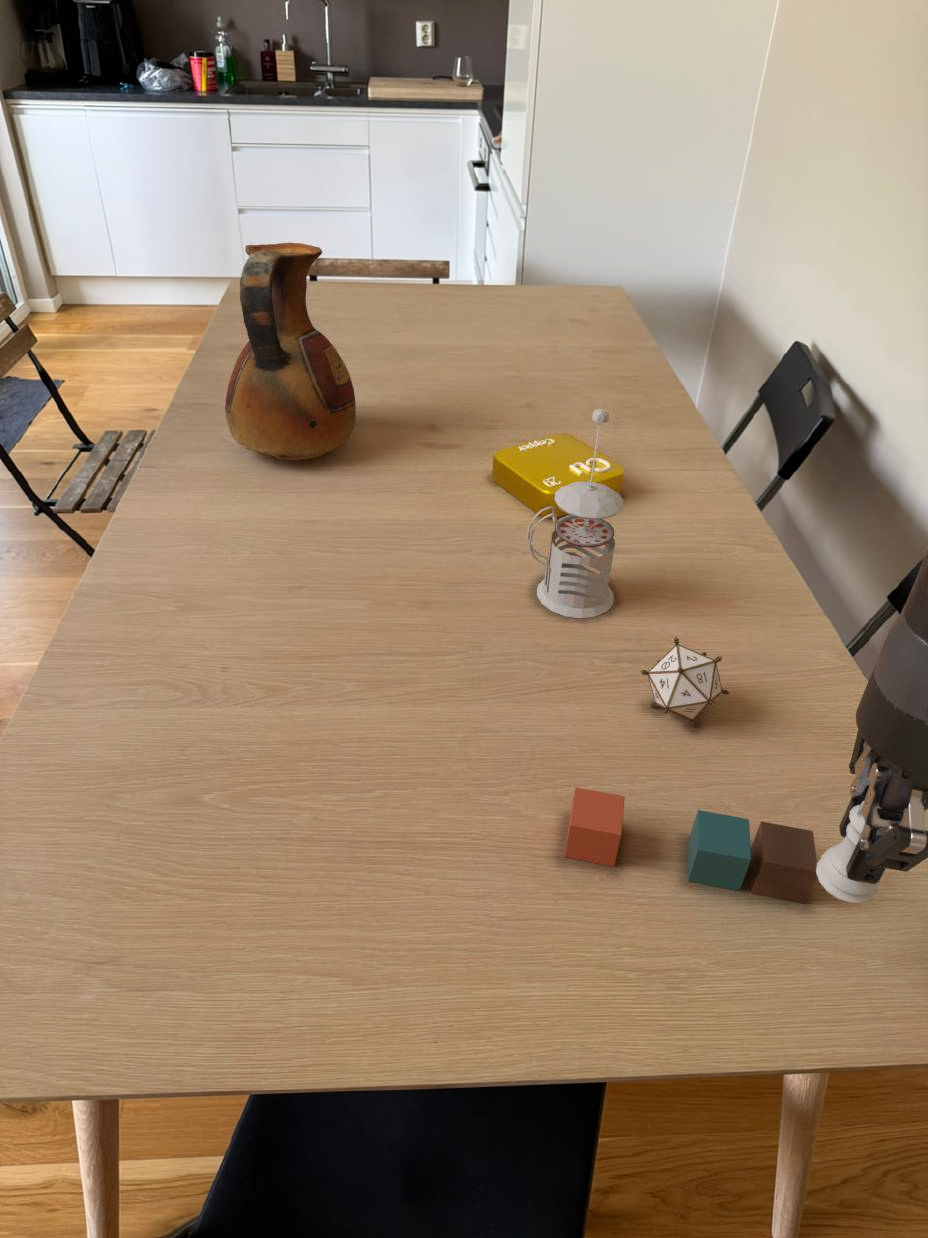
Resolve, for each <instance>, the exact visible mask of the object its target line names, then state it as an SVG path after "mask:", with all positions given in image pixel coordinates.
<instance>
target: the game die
mask: <svg viewBox="0 0 928 1238" xmlns="http://www.w3.org/2000/svg"><path fill="white" fill-rule="evenodd" d="M679 640H680V639H679V638H678V637H677V636H676V635H675V636H674V638H673V643H674V646H672V648H670V650H668V652H667V653H665V654H664V655H663V656H662V657H661V658H660V659H659V660H656V663H655V664H654V665H653V666H652V667H651V668H650V669H649V670H648V671H647V670H645V669H641V670H639V672H640V673H641V674H642V676H643V675H644V676H647V678H648V681H649V686H650V689H651V692H652V697H653V699H654V701H651V702H650V705H649V708H654V707H656V706H657V705H658V706H660V707H662V708H663V709H662V711H661V712H662V715H665V714H668V713H669V712H672V713H674V714H677V715H678V716H681V717H683V718H686V720H687V719H688V720H690V726H692V728H693V729H696V726H697V721H695V720H696V719H697V718H698V717H699V716H700V715H701V714H702V713H703V712H704V711H705V710H706V709H707V708H708V707H709V706H710V707H716V702H715V700H716V699H717V698H718V697H719V696H720V695H721V694H723V695H726V696H727V695H731V693H730V691H728V689H723V687H722V683H721V678H720V673H719V669H718V664H717V663H720V662H721V661H722V659H723V656H719V655H718V656H717V657H715V658H714V659H713V658H711V657H709V656H707V655H708V654H707V652H706V651H704V652H701V653H700V652H697V651H695V650H693V649H691V648H688V647H686V646H684V645H682V644H680V641H679Z"/></svg>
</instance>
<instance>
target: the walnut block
mask: <svg viewBox="0 0 928 1238" xmlns="http://www.w3.org/2000/svg"><path fill="white" fill-rule="evenodd" d="M750 846H751V862H750V864H749V876H750V877H749V879H750V893H751V894H752V895H756V896H763V897H768V898H772V899H776V900H777V899H778V900H783V901H788V902H793V903H799V904H805V901H806V900H807V897H808V895H809V893H810V891H811V889H812V887H813V885H814V883H815V880H816V879H817V877H818V876H817V873H816V868H817V863H818V859H817V851H816V845H815V836H814V831H813V830H810V829H805V828H799V827H793V826H788V825H783V824H779V823H772V822H767V821H760V823H759V825H758V828H757V831H756V833H755V836H754V839H753V841H752V843H751V845H750Z"/></svg>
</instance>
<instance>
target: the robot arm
mask: <svg viewBox="0 0 928 1238" xmlns="http://www.w3.org/2000/svg"><path fill="white" fill-rule="evenodd" d="M858 703H859V704H858V706H857V708H856V712H855V722H856V727H857V733H856V737H855V742H854V746H853V750H852V755H851V758H850V762H849V764H848V769H849V773H850V775H854V776H855V777H854V779H853V780H852V782H851V784H850V786H849V793H850V797H851V798H850V800H849V803H848V805H847V807H846V810H845V812H844V814H843V817H842V818H841V821H840V823H839V827H838V828H839V834H840V836H841V837H842V838H843V839H844V838H845V837H846V835H847V832H846V830H847V826H848V824H849V823H850V822H851V821H850V818H849V815H850V811H851V809H852V808H853V807H854V806H857V805H860V804H862V801H864V804H863V807H862V814H863V817H864V820H865V824H864V827H863V830H862V833H861V836H860V838H859V841H858V843H857V845H856V847H855V849H854V851H853V854H852V856H851V858H850V860H849V862H848V864H847V866H846V872H847V877H848V878H849V879H850V880H854V881H859V882H865V883H870V884H876V883H878V882H879V880H880V881H881V878H882V877H883V875H884V872H885V870H886V869H888V870H893V871H898V872H899V871H900V872H905V873H907V872H910V870H912V869H914V867H916V866H918V865H919V864H921V863H922V862H924V861H925V860H927V859H928V829H926V820H925V812H926V811H927V810H928V550H927V551H926V553H925V555H924V557H923V560H922V562H921V564H920V567H919V570H918V572H917V575H916V578H915V580H914V582H913V585H912V587H911V589H910V592H909V595H908V597H907V599H906V601H905V604H904V605H903V607H902V609H901V611H900V613H899V615H898V616H897V618H896V619H895V621H894V622H893V624H892V626H891V628H890V629H889V630H888V633H887V635H886V638H885V640H884V642H883V646H882V647H881V650H880V652H879V655H878V657H877V659H876V661H875V664H874V667H873V669H872V672H871V673H870V676H869V679H868V682H867V683H866V686H865V689H864V691H863V693H862V696H861V697H860V700H859V702H858ZM878 806H879V807H881V808H882V809H881V808H878ZM880 828H885V829H888V832H887V833H886V834H885V835H883V836H881V835H876V833H877V830H878V829H880ZM879 883H880V882H879Z"/></svg>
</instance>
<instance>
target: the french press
mask: <svg viewBox="0 0 928 1238" xmlns="http://www.w3.org/2000/svg"><path fill="white" fill-rule="evenodd" d="M591 420H592V421H593V422H594V423H597V424H598V425H597V431H596V439H595V446H594V449H595V452H594V459H593V466H592V473H591V480H590V481H585V482H574V483H572V484H569V485H566V486H564V487H561V488H560V489H559V490H558V491H557V492H556V493H555V502H556V504H557V505H558V507H559V508H560V509H561V510H562V511H564V512H566V513H567V515H564V516H561V517H559V519H558V518H557V515H556V514H554V513H555V508H554V507H551V506H550V507H547V508H545V509H542V510H541V511H539V512H538V513H535V515H534V516H533V518H532V519H531V521H530V522H529V524H528V527H527V535H526V538H527V544H528V546H529V551H530V554H531V556H532V558H533V559H534V560H535V561H537V562H538V563H539V564H542V565H544V566H545V573H544V578H543V579H542V580H541V582H540V583H539V584H538V585H537V587H536V597H537V598H538V600H539V602H540V603H541V604H542V605H543V606H544V607H545V608H546V609H548V610H549V611H551V612H552V613H555V614H557V615H561V616H564V617H566V618H575V619H587V618H595V617H598V616H600V615H602V614H604V613H606V612H608V611H609V610H610V609H611V608H612V607H613V605H614V602H615V599H614V594H615V593H614V592H613V591H612V589H611V588H610V586H609V583H610V576H611V571H612V565H613V559H614V554H615V547H616V539H615V538H614V537H615V529H614V527H613V526H612V525H611V523H610V522H608V521H607V520H606V519H608V518H609V519H610V518H612V517H614V516H616V515H617V514H619V512H620V511H621V510H622V509H624V498H622V496H621V494H620V495H619V494H618V493H616V492H615V491H613V490H611V489H610V488H608V487H607V486H605V485H603V484H599V483H595V482H592V478H593V471H594V464H595V457H596V450H597V449H598V443H599V436H600V435H599V434H600V429H601V424H605V423H608V422H609V421H610V413H609V412H608V410H606V409H604V408H597V409H595V410H593V413H592V416H591ZM597 451H598V450H597ZM549 508H552V514H549V515H547V516H545V517H542V518H540V520H538V521H537V522H536V524H535V525H534V526H533V524H534V522H535V520H536V518H537V517H538V516H540V515H539V514H540V513H542V512H543V511H545V510H547V509H549ZM550 516H552V518H551V519H552V521H553V523H554V530H553V532H551V537H550V545H549V554H548V557H547V556H545V555H543V554H541V553H539V552H538V551H536V550H535V549H534V547H533V545H532V540H533V535H534V533H535V531H536V528H537V526H538V525H540V524H541V523H542V522H543V521H544V520H545V519H548V518H547V517H550ZM554 516H555V517H554ZM557 519H558V520H557ZM604 519H605V520H604ZM532 526H533V528H532ZM531 528H532V530H531ZM558 538H559V539H558ZM557 539H558V540H557ZM563 542H565V544H562V545H561V546H559V545H560V544H561V543H563ZM558 546H559V547H558ZM602 546H604V547H603V548H601V547H602ZM585 548H588V549H591V550H592V551H594V552H596V553H598V554H600V555H601V556H597V555H596V554H594V553H593V552H591V551H589V550H587V549H585ZM566 549H575V550H576V551H578V552H581V553H582V554H584V555H585V556H587V557H584V556H581V555H580V554H578V553H577V552H574V551H573V552H572V551H564V550H566ZM536 555H537V556H539V557H540V558H543V559H545V561H546V562H544V561H541V560H540V559H538V557H536ZM589 568H591V569H595V570H597V571H599V573H597V572H595V571H592V570H591V569H589Z"/></svg>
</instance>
